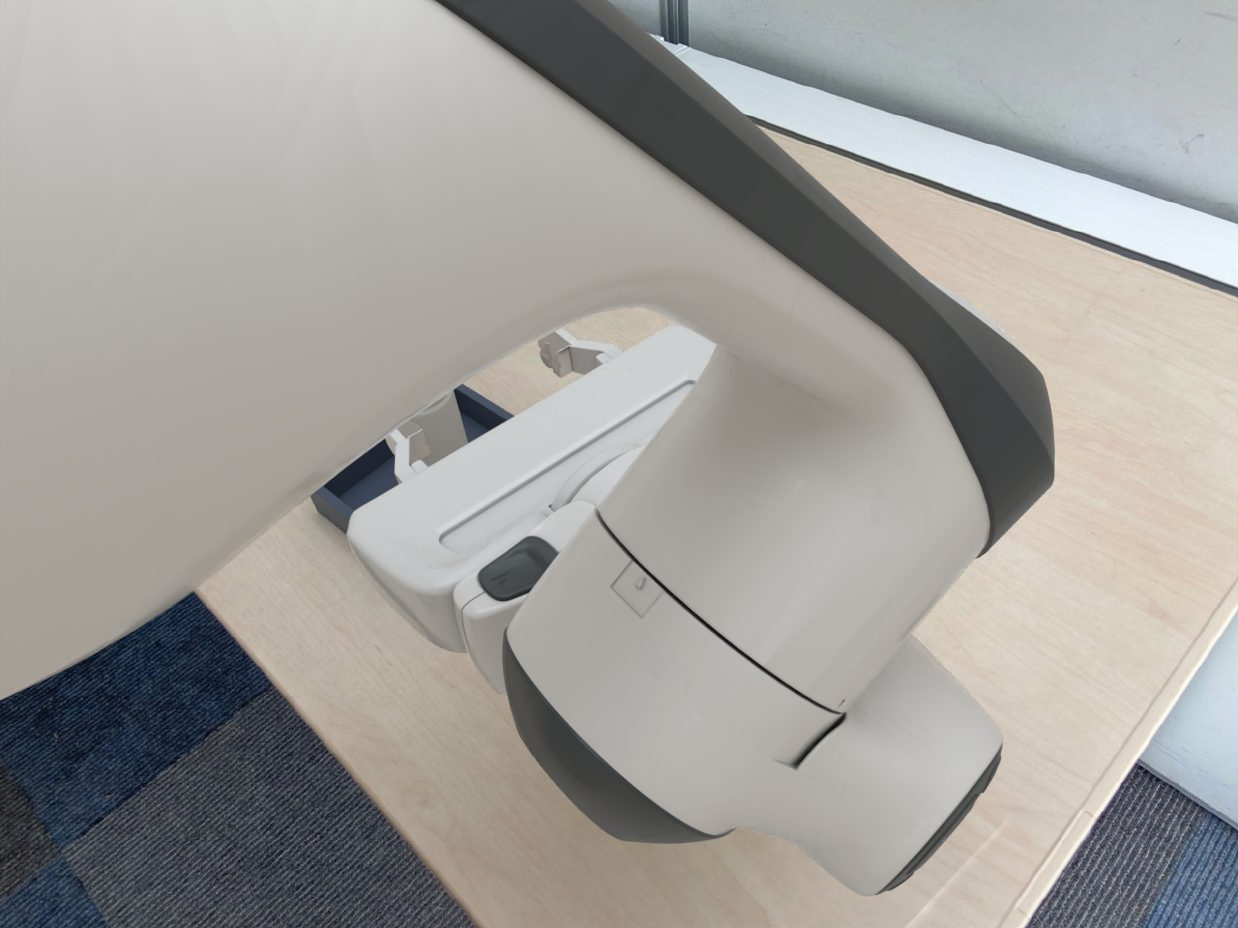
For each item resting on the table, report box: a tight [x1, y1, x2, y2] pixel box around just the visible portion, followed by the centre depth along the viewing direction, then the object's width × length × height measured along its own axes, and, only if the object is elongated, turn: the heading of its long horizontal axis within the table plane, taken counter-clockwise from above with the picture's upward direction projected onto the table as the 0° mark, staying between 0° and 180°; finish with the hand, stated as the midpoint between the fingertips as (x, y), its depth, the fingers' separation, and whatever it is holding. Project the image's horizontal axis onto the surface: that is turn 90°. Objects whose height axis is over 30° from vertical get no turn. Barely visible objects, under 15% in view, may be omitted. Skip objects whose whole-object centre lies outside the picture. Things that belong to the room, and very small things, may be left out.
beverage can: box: [412, 390, 468, 467], centre depth 71 cm, size 5×5×12 cm
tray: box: [309, 383, 515, 535], centre depth 75 cm, size 16×16×4 cm
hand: (476, 384), depth 48 cm, fingers open, 8 cm apart
